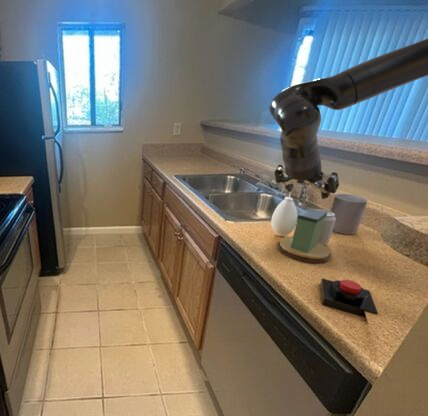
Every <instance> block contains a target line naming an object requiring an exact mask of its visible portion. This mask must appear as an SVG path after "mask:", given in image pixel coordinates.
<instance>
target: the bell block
mask: <svg viewBox="0 0 428 416" xmlns="http://www.w3.org/2000/svg"><path fill="white" fill-rule="evenodd" d="M340 282H341V280H338V279H337V280H329V279H326V278H321V280H320V283H319V288H320V297H321V305H322V306H323V307H327V308H330V309H334V310H337V311H340V312H344V313H348V314H350V315H355V316H357V317H360V318H365V319H367V315H366V312H367V313H369V314H373V315H378V314H379V313H378V311H377V308H376V305H375V302H374V299H373V296H372V294H371V291H370V290H369V289H366V288H363V287H362V286H361V290H360V293H359V294H351V293H347V292H345V291H343V290H341V289H340V288H339V285H340Z"/></svg>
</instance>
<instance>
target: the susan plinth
mask: <svg viewBox="0 0 428 416" xmlns="http://www.w3.org/2000/svg"><path fill="white" fill-rule="evenodd" d="M276 249H277V251H278V252H279V253H281V254H282V255H283V256H285V257H287V258H288V259H292V260H294V261H297V262H300V263H304V264H312V265H323V264H327V263H328V262H330V259H331V257H332V254H331V252H330V253H329V256H328V257H326V258H323V259H311V258H305V257H301V256H298V255H295V254H292V253H290V252H288V251H286V250H284V249H283V248H282V247H281V246H280V240H279V241H277V244H276Z"/></svg>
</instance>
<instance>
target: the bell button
mask: <svg viewBox="0 0 428 416" xmlns="http://www.w3.org/2000/svg"><path fill="white" fill-rule="evenodd" d="M340 281H341V282H340V285H339V288H340V289H341V290H343V291H345V292H347V293H351V294H359V293H360V290H361V287H362V286H361V284H360V283H358V282H356V281H353V280H351V279H341V280H340Z"/></svg>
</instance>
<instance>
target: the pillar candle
mask: <svg viewBox="0 0 428 416" xmlns="http://www.w3.org/2000/svg"><path fill="white" fill-rule="evenodd" d="M368 201H369V199H367V198H365V197H363V196H359V195H355V194H351V193H350V194H349V193H348V194H347V193H338V194H335V195H334V198H333V202H332V205H331V208H330V210H329V211H330V212H332V213H334V214H335V216H334V217H335V218H336V221H335V224H334V227H333V231H332V233H336V234H340V235H349V236H352V235H355V234H356V233H357V232H358V230H359V226H360V223H361V221H362V218H363V215H364V212H365V209H366V206H367V203H368Z"/></svg>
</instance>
